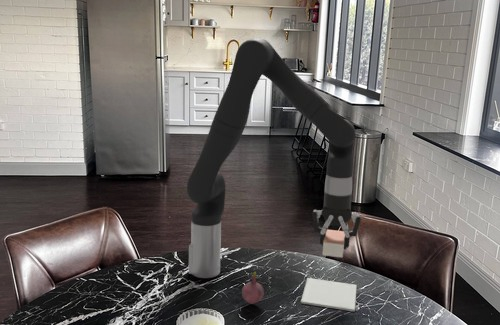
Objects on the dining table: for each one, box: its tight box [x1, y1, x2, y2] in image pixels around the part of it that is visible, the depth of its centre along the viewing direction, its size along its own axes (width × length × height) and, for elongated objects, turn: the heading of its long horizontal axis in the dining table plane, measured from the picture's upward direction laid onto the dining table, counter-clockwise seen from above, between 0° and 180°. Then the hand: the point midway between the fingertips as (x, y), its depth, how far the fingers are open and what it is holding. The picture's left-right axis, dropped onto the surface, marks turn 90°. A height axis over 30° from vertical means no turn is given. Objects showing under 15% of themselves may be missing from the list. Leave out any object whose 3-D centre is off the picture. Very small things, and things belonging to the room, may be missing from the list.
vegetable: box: [241, 271, 265, 305], centre depth 133 cm, size 6×6×10 cm
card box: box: [322, 229, 345, 258], centre depth 138 cm, size 10×6×4 cm, turn 165°
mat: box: [300, 277, 358, 312], centre depth 141 cm, size 15×15×1 cm
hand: (334, 246), depth 138 cm, fingers closed on card box, 5 cm apart
